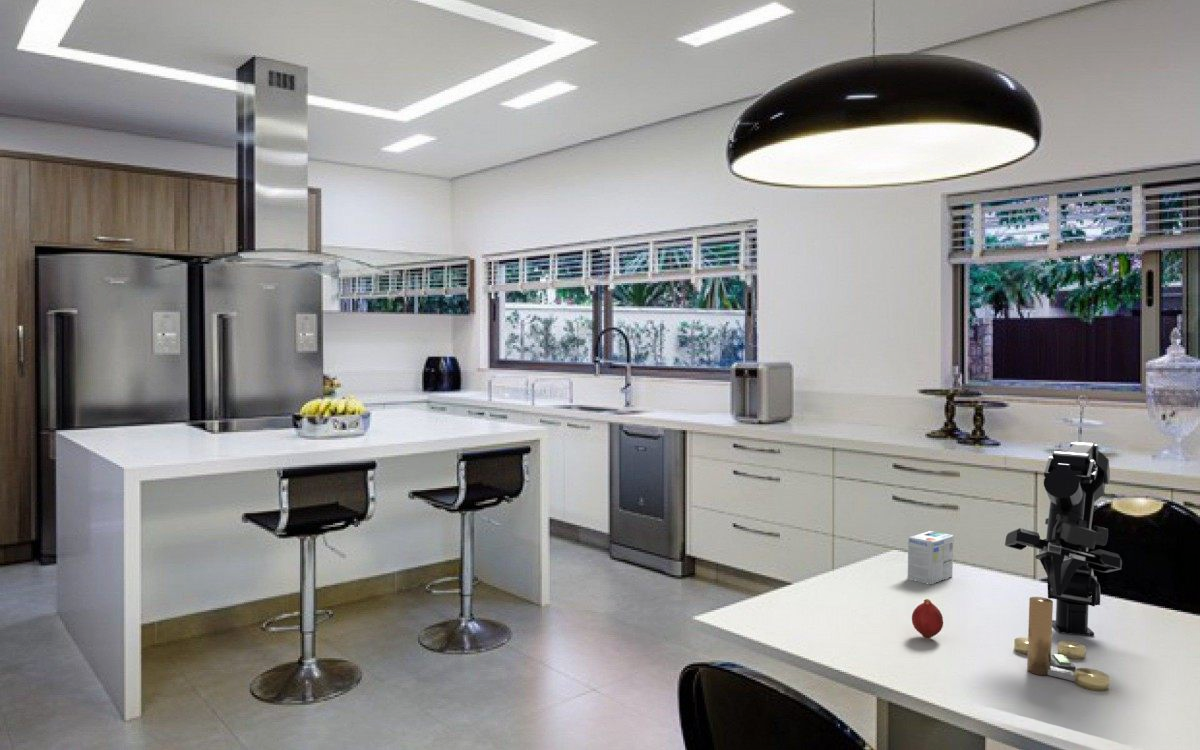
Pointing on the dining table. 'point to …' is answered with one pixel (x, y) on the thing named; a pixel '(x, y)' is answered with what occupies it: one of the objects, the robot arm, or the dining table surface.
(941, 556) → the light bulb box
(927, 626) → the onion
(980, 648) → the dining table surface
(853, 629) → the dining table surface
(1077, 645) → the tribrach plate
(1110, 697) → the dining table surface
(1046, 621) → the knob lever
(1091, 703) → the dining table surface
